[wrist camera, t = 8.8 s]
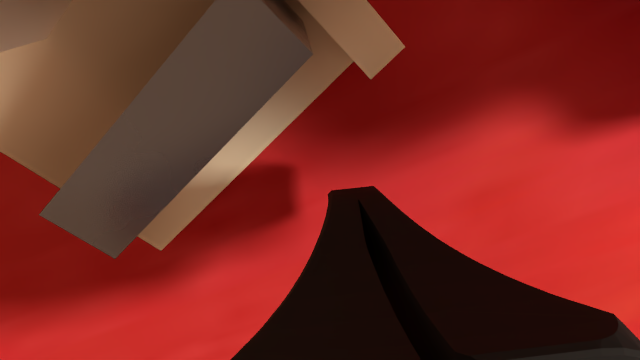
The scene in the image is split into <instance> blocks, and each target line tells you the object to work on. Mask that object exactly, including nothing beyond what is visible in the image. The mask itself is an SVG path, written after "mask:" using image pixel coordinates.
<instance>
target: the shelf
mask: <svg viewBox="0 0 640 360" xmlns="http://www.w3.org/2000/svg"><path fill="white" fill-rule="evenodd" d="M214 1H215V0H72V1H71V3H70V4H69V6H68V7H67V9H66V10H65V12H64V13H63V15H62V16H61V18H60V19H59V21H58V22H57V24H56V25H55V26H54V28H53V29H52V31H51V32H50V34H49V35H48V37H47V38H46V39H44V40H41V41H37V42H34V43H30V44H27V45H23V46H20V47H16V48H13V49H10V50H6V51H3V52H0V152H2V153H3V154H5V155H7V156H8V157H10V158H12V159H13V160H15V161H16V162H18V163H20V164H21V165H23V166H24V167H26V168H28V169H29V170H31V171H33V172H34V173H36V174H37V175H39V176H41V177H42V178H44V179H46V180H47V181H49V182H50V183H52V184H54V185H55V186H57V187H58V188H60V189H61V187H62V186H63V185H64V184H65V183H66V181H67V180H68V179H69V178H70V176H71V175H72V174H73V173H74V172H75V170H76V169H77V168H78V167H79V166H80V164H81V163H82V162H83V161H84V159H85V158H86V157H87V156H88V155H89V153H90V152H91V151H92V150H93V149H94V147H95V146H96V145H97V144H98V142H99V141H100V140H101V139H102V138H103V136H104V135H105V134H106V133H107V131H108V130H109V129H110V128H111V127H112V125H113V124H114V123H115V122H116V121H117V119H118V118H119V117H120V116H121V114H122V113H123V112H124V111H125V110H126V108H127V107H128V106H129V105H130V103H131V102H132V101H133V100H134V99H135V97H136V96H137V95H138V94H139V93H140V91H141V90H142V89H143V88H144V86H145V85H146V84H147V83H148V82H149V80H150V79H151V78H152V77H153V76H154V74H155V73H156V72H157V71H158V69H159V68H160V67H161V66H162V65H163V63H164V62H165V61H166V60H167V58H168V57H169V56H170V55H171V54H172V52H173V51H174V50H175V49H176V48H177V46H178V45H179V44H180V43H181V41H182V40H183V39H184V38H185V37H186V35H187V34H188V33H189V32H190V30H191V29H192V28H193V27H194V26H195V24H196V23H197V22H198V21H199V20H200V18H201V17H202V16H203V15H204V13H205V12H206V11H207V10H208V9H209V7H210V6H211V5H212V4H213V2H214ZM284 1H285V2H286V3H287V4H288V5H289V6H290V7H291V8H292V9H293V10H294V11H295V12H296V14H297V15H298V16H299V17H300V18H301V19H302V20H303V22H304V26H305V29H306V32H307V35H308V39H309V42H310V45H311V48H312V52H313V55H312V56H311V57H310V58H309V59H308V60H307V61H306V62H305V63H304V64H303V65H302V66H301V67H300V68H299V69H298V70H297V72H296V73H295V74H294V75H293V76H292V77H291V78H290V79H289V80H288V81H287V82H286V83H285V84H284V85H283V86H282V87H281V88H280V89H279V90H278V91H277V92H276V93H275V94H274V95H273V96H272V97H271V98H270V99H269V100H268V101H267V103H266V104H265V105H264V106H263V107H262V108H261V109H260V110H259V111H258V112H257V113H256V114H255V115H254V116H253V117H252V118H251V119H250V120H249V121H248V122H247V123H246V124H245V125H244V126H243V127H242V128H241V129H240V130H239V131H238V132H237V134H236V135H235V136H234V137H233V138H232V139H231V140H230V141H229V142H228V143H227V144H226V145H225V146H224V147H223V148H222V149H221V150H220V151H219V152H218V153H217V154H216V155H215V156H214V157H213V158H212V159H211V160H210V161H209V162H208V163H207V165H206V166H205V167H204V168H203V169H202V170H201V171H200V172H199V173H198V174H197V175H196V176H195V177H194V178H193V179H192V180H191V181H190V182H189V183H188V184H187V185H186V186H185V187H184V188H183V189H182V190H181V191H180V192H179V193H178V194H177V196H176V197H175V198H174V199H173V200H172V201H171V202H170V203H169V204H168V205H167V206H166V207H165V208H164V209H163V210H162V211H161V212H160V213H159V214H158V215H157V216H156V217H155V218H154V219H153V220H152V221H151V222H150V223H149V224H148V225H147V227H146V228H145V229H144V230H143V231H142V232H141V233H140V234H139V235H138V237H139V238H141V239H142V240H144V241H146V242H147V243H149V244H151V245H152V246H154V247H155V248H157V249H159V250H160V251H161V250H162V249H163V248H164V247H165V246H167V245H168V244H169V243H170V242H171V241H172V240H173V239H174V238H175V237H176V236H177V235H178V234H179V233H180V232H181V231H182V230H183V229H184V228H185V227H186V226H187V225H188V224H189V223H190V222H191V221H192V220H193V219H194V218H195V217H196V216H197V215H198V214H199V213H200V212H201V211H202V210H203V209H204V208H205V207H206V206H207V205H208V204H209V203H210V202H211V201H212V200H213V199H214V198H215V197H216V196H217V195H218V194H219V193H220V192H221V191H222V190H223V189H224V188H225V187H227V186H228V185H229V184H230V183H231V182H232V181H233V180H234V179H235V178H236V177H237V176H238V175H239V174H240V173H241V172H242V171H243V170H244V169H245V168H246V167H247V166H248V165H249V164H250V163H251V162H252V161H253V160H254V159H255V158H256V157H257V156H258V155H259V154H260V153H261V152H262V151H263V150H264V149H265V148H266V147H267V146H268V145H269V144H270V143H271V142H272V141H273V140H274V139H275V138H276V137H277V136H278V135H279V134H280V133H281V132H282V131H283V130H284V129H285V128H286V127H288V126H289V125H290V124H291V123H292V122H293V121H294V120H295V119H296V118H297V117H298V116H299V115H300V114H301V113H302V112H303V111H304V110H305V109H306V108H307V107H308V106H309V105H310V104H311V103H312V102H313V101H314V100H315V99H316V98H317V97H318V96H319V95H320V94H321V93H322V92H323V91H324V90H325V89H326V88H327V87H328V86H329V85H330V84H331V83H332V82H333V81H334V80H335V79H336V78H337V77H338V76H339V75H340V74H341V73H342V72H343V71H344V70H345V69H346V68H347V67H349V66H350V65H351V64H352V63H353V62H355V63H356V64H357V65H358V66H359V67H360V68H361V69H362V71H363V72H364V73H365V74H366V75H367V76H368V77H369V78H370V79H372V78H373V77H374V76H375V75H376V74H377V73H378V72H379V71H380V70H382V69H383V68H384V67H385V66H386V65H387V64H388V63H389V62H390V61H391V60H392V59H393V58H394V57H395V56H396V55H397V54H398V53H399V52H401V51H402V50H403V49H404V48H405V46H404V45H403V43H402V42H401V41H400V40H399V38H398V37H397V36H396V35H395V34H394V32H393V31H392V30H391V29H390V28H389V26H388V25H387V24H386V23H385V22H384V20H383V19H382V18H381V17H380V15H379V14H378V13H377V12H376V11H375V9H374V8H373V7H372V6H371V5H370V3H369V2H368V1H367V0H284Z"/></svg>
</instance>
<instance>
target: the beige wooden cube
mask: <svg viewBox="0 0 640 360" xmlns="http://www.w3.org/2000/svg"><path fill="white" fill-rule="evenodd" d="M71 1H72V0H0V52H3V51H6V50H10V49H13V48H16V47H20V46H23V45H27V44H30V43H34V42H37V41H41V40H44V39H46V38H47V37H48V35H49V34H50V32H51V31H52V29H53V28H54V26H55V25H56V24H57V22H58V21H59V19H60V18H61V16H62V15H63V13H64V12H65V10H66V9H67V7H68V6H69V4H70V3H71Z"/></svg>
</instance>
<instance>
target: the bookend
mask: <svg viewBox="0 0 640 360" xmlns="http://www.w3.org/2000/svg"><path fill="white" fill-rule="evenodd" d="M312 55H313V52H312V48H311V45H310V42H309V39H308V35H307V32H306V29H305V26H304V22H303V20H302V19H301V18H300V17H299V16H298V15H297V14H296V12H295V11H294V10H293V9H292V8H291V7H290V6H289V5H288V4H287V3H286V2H285V1H284V0H215V1H214V2H213V4H212V5H211V6H210V7H209V9H208V10H207V11H206V12H205V13H204V15H203V16H202V17H201V18H200V20H199V21H198V22H197V23H196V24H195V26H194V27H193V28H192V29H191V30H190V32H189V33H188V34H187V35H186V37H185V38H184V39H183V40H182V41H181V43H180V44H179V45H178V46H177V48H176V49H175V50H174V51H173V52H172V54H171V55H170V56H169V57H168V58H167V60H166V61H165V62H164V63H163V65H162V66H161V67H160V68H159V69H158V71H157V72H156V73H155V74H154V76H153V77H152V78H151V79H150V80H149V82H148V83H147V84H146V85H145V86H144V88H143V89H142V90H141V91H140V93H139V94H138V95H137V96H136V97H135V99H134V100H133V101H132V102H131V103H130V105H129V106H128V107H127V108H126V110H125V111H124V112H123V113H122V114H121V116H120V117H119V118H118V119H117V121H116V122H115V123H114V124H113V125H112V127H111V128H110V129H109V130H108V131H107V133H106V134H105V135H104V136H103V138H102V139H101V140H100V141H99V142H98V144H97V145H96V146H95V147H94V149H93V150H92V151H91V152H90V153H89V155H88V156H87V157H86V158H85V159H84V161H83V162H82V163H81V164H80V166H79V167H78V168H77V169H76V170H75V172H74V173H73V174H72V175H71V176H70V178H69V179H68V180H67V181H66V183H65V184H64V185H63V186H62V187H61V189H60V190H59V191H58V192H57V194H56V195H55V196H54V197H53V198H52V200H51V201H50V202H49V203H48V204H47V206H46V207H45V208H44V209H43V211H42V212H41V213H40V214H39V215H40V216H42V217H43V218H45V219H47V220H49V221H50V222H52V223H54V224H56V225H57V226H59V227H61V228H62V229H64V230H66V231H68V232H69V233H71V234H73V235H75V236H76V237H78V238H80V239H81V240H83V241H85V242H87V243H88V244H90V245H92V246H94V247H95V248H97V249H99V250H101V251H102V252H104V253H106V254H107V255H109V256H111V257H113V258H114V259H116V258H117V256H118V255H119V254H120V253H121V252H122V251H123V250H124V249H125V248H126V247H127V246H128V245H129V244H130V243H131V242H132V241H133V240H134V239H135V238H136V237H137V236H138V235H139V234H140V233H141V232H142V231H143V230H144V229H145V228H146V227H147V225H148V224H149V223H150V222H151V221H152V220H153V219H154V218H155V217H156V216H157V215H158V214H159V213H160V212H161V211H162V210H163V209H164V208H165V207H166V206H167V205H168V204H169V203H170V202H171V201H172V200H173V199H174V198H175V197H176V196H177V194H178V193H179V192H180V191H181V190H182V189H183V188H184V187H185V186H186V185H187V184H188V183H189V182H190V181H191V180H192V179H193V178H194V177H195V176H196V175H197V174H198V173H199V172H200V171H201V170H202V169H203V168H204V167H205V166H206V165H207V163H208V162H209V161H210V160H211V159H212V158H213V157H214V156H215V155H216V154H217V153H218V152H219V151H220V150H221V149H222V148H223V147H224V146H225V145H226V144H227V143H228V142H229V141H230V140H231V139H232V138H233V137H234V136H235V135H236V134H237V132H238V131H239V130H240V129H241V128H242V127H243V126H244V125H245V124H246V123H247V122H248V121H249V120H250V119H251V118H252V117H253V116H254V115H255V114H256V113H257V112H258V111H259V110H260V109H261V108H262V107H263V106H264V105H265V104H266V103H267V101H268V100H269V99H270V98H271V97H272V96H273V95H274V94H275V93H276V92H277V91H278V90H279V89H280V88H281V87H282V86H283V85H284V84H285V83H286V82H287V81H288V80H289V79H290V78H291V77H292V76H293V75H294V74H295V73H296V72H297V70H298V69H299V68H300V67H301V66H302V65H303V64H304V63H305V62H306V61H307V60H308V59H309V58H310V57H311V56H312Z"/></svg>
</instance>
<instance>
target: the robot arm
mask: <svg viewBox="0 0 640 360" xmlns="http://www.w3.org/2000/svg"><path fill="white" fill-rule="evenodd" d="M231 360H640V340H639V339H638V338H637V337H636V336H635V335H634V334H633V333H632V332H631V331H630V330H629V329H628V328H627V327H626V326H625V325H624V324H623V323H622V322H621V321H620V320H619V319H618V318H617V317H616V316H615V315H614V314H612V313H609V312H606V311H602V310H599V309H596V308H593V307H590V306H587V305H584V304H580V303H577V302H574V301H571V300H568V299H565V298H561V297H558V296H556V295H553V294H550V293H547V292H545V291H542V290H540V289H537V288H534V287H532V286H529V285H527V284H524V283H522V282H519V281H517V280H515V279H512V278H510V277H508V276H505V275H503V274H501V273H499V272H497V271H495V270H493V269H491V268H489V267H486V266H484V265H482V264H480V263H478V262H476V261H475V260H473V259H471V258H469V257H467V256H465V255H464V254H462V253H460V252H458V251H457V250H455V249H453V248H452V247H450V246H448V245H447V244H445V243H443V242H442V241H440V240H439V239H437V238H436V237H434V236H433V235H432V234H430V233H429V232H427V231H426V230H425V229H423V228H422V227H420V226H419V225H418V224H417V223H415V222H414V221H413V220H412V219H410V218H409V217H408V216H407V215H405V214H404V213H403V212H402V211H401V210H400V209H398V208H397V207H396V206H395V205H394V204H393V203H392V202H391V201H390V200H388V199H387V198H386V197H385V196H384V195H383V194H382V193H381V192H380V191H379V190H378V189H376V188H375V187H374V186H369V187H360V188H351V189H342V190H332V191H331V192H330V193H329V194H328V208H327V213H326V217H325V220H324V224H323V227H322V230H321V233H320V236H319V238H318V240H317V243H316V245H315V248H314V250H313V252H312V254H311V256H310V258H309V260H308V262H307V264H306V266H305V268H304V270H303V272H302V273H301V275H300V277H299V278H298V280H297V281H296V283H295V285H294V286H293V288H292V289H291V291H290V292H289V294H288V295H287V297H286V298H285V299H284V301H283V302H282V303H281V305H280V306H279V307H278V308H277V310H276V311H275V312H274V313H273V315H272V316H271V317H270V318H269V319H268V321H267V322H266V323H265V324H264V326H263V327H262V328H261V329H260V330H259V331H258V332H257V333H256V335H255V336H254V337H253V338H252V339H251V340H250V341H249V342H248V343H247V344H246V345H245V346H244V347H243V348H242V349H241V350H240V351H239V352H238V353H237V354H236V355H235V356H234V357H233V358H232V359H231Z"/></svg>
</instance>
